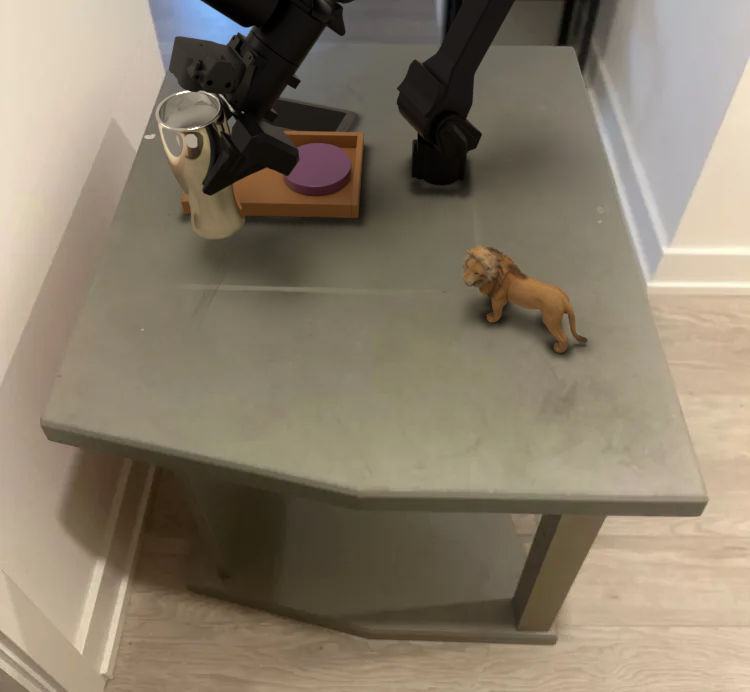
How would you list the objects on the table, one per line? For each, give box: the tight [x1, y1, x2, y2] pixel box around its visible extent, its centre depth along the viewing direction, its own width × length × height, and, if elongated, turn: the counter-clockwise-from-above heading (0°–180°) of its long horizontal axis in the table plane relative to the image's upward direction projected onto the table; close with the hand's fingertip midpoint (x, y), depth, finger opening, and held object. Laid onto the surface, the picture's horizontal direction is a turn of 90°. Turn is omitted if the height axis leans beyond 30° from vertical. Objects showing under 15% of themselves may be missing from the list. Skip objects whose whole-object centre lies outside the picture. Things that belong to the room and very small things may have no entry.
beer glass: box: [155, 89, 246, 241], centre depth 78 cm, size 7×7×15 cm
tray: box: [180, 129, 365, 219], centre depth 95 cm, size 22×15×3 cm
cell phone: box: [262, 96, 358, 132], centre depth 104 cm, size 7×14×1 cm, turn 71°
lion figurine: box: [461, 244, 588, 354], centre depth 78 cm, size 15×5×9 cm, turn 66°
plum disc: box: [282, 143, 352, 196], centre depth 96 cm, size 9×9×2 cm
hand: (193, 174), depth 78 cm, fingers closed on beer glass, 7 cm apart
